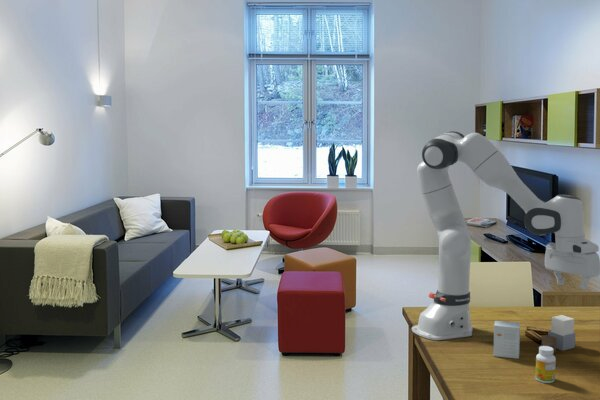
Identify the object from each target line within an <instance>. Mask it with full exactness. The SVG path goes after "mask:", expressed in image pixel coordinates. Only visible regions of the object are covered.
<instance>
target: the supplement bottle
mask: <svg viewBox="0 0 600 400" xmlns="http://www.w3.org/2000/svg"><path fill="white" fill-rule="evenodd" d="M553 353H554V349H553V348H552V347H549V346H541V345H540V346H538V354H536V356H535V372H534V373H535V376H534V377H535V380H536V381H538V382H539V383H544V384H551V383H553V382H555V380H556V363H557V362H556V361H557V359H556V356H555V354H553Z"/></svg>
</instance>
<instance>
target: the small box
mask: <svg viewBox="0 0 600 400" xmlns="http://www.w3.org/2000/svg"><path fill="white" fill-rule="evenodd" d="M520 326H521V324H520V322H519V321H518V322H517V321H505V320H504V321H503V320H494V324H493V357H498V358H506V359H507V358H508V359H518V360H519V359H520V345H521V344H520V342H521V341H520V340H521V339H520V336H521V333H520V332H521V330H520V329H521V327H520Z"/></svg>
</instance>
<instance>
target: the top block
mask: <svg viewBox="0 0 600 400" xmlns="http://www.w3.org/2000/svg"><path fill="white" fill-rule="evenodd" d="M550 321H551V323H550V324H551V325H550V327H551V328H550V331H551V332H554V333H557V334H560V335H563V336H564V335H568V334H573V333H575V330H574V329H575V318H572V317H569V316H566V315H564V314H560V315H556V316H551V320H550Z"/></svg>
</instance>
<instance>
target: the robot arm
mask: <svg viewBox="0 0 600 400" xmlns="http://www.w3.org/2000/svg"><path fill="white" fill-rule="evenodd" d="M421 157H422V161H421V162H420V163H419V164H418V166H417V167H416V176H417V182H418V186H419V189H420V192H421V195H422V198H423V200H424V203H425V206H426V209H427V212H428V214H429V216H430V217H429V218H430V219H431V221H432V222H431V223H432V225H433V227H434V229H435V231H436V232H435V233H436V235H437V237H438V272H437V275H438V276H437V277H438V278H437V290H436V293H433V292H429V293H428V298H429V299H432V300H433V301H432V302H431V303H430V304H429V305H428V307H426V308H425V309H424V310H423V311H422V312H421V313H420V314H419V317H418V323H417V324H416V325H413V326H412V327H411V331H412V333H414V334H416V335H417V336H420V337H421V338H424V339H428V340H430V341H441V340H451V339H459V338H468V337H471V336H473V331H474V329H473V325H472V321H471V311H470V303H471V292H470V273H471V272H470V271H471V269H470V268H471V257H472V256H471V254H472V238H471V236H470V235H471V234H470V231H469V228H468V225H467V222H466V221H465V220H466V219H465V218H464V214H463V212H462V209H461V206H460V204H459V201H458V198H457V195H456V192H455V189H454V187H453V184H452V181H451V178H450V176H449V167H450V166H453V165H455V164H456V163H457V162H461V163H464V164H465V165H466V166H467V167H469V169H470V170H471V171H472V173H474V175H476V177H478V178H479V180H481V181H482V182H483V183H485V184H486V185H488V186H489V187H492V188H495V189H499V190H501V191H503V192H504V193H506V194H507V195H508V196H509V197H510V198H511V199H512V200H514V202H515V203H516V204H517V205H518V206H519V207H520V208H521V209H522V210H523V211H524V213H525V215H524V217H523V224H524V226H525V229H526V230H527V232H529V233H530V234H532V235H534V236H535V235H536V236H546V235H548V234H553V233H554V236H555V237H554V238H555V240H554V241H555V242H552V241H549V242H548V243H547V244H546V245H545V254H544V267H545V269H546V270H549V271H553V275H554V277H555V279H556V284H557V285H560V286H562V285H565V278H563V277H562V273H566V274H570V275H574V276H575V275H576V276H581V280H582V281H581V283H579V284H578V286H579V289H580V290H584V291H585V290H587V289H588V283H589V281H590V280H591V278H596V277H598V276H599V275H600V256H599V254H598V252H599V251H600V249H599V245H598V244H597V243H594V242H591V241H590V240H589V239H587V238H586V234H585V231H584V230H585V229H584V225H585V211H584V206H583V201H582V200H581V199H580V198H579V197H578V196H574V195H570V194H557V195H556V196H555V197H553V198H551V199H550V200H548V201H544V200H542V199H541V198H539V197H538V196H537V194H535V193H534V192H533V191H532V190H531V189H530V188H529V187H528V185H526V184H525V183H524V182H523V180H522V179H521V178H520V177H519V176H518V174H517V172H516V171H515V170H514V168H513V167H512V165H511V164H510V162H509V160H508V159H507V158H506V156H505V155H504V154H503V152H502V151H501V150H499V149H498V147H497V146H496V145H494V144H493V142H491V141H490V140H489V139H487V138H486V137H485V136H484V135H483V134H481V133H479V132H471V133H469V134H466V135H464V134H463V133H461V132H460V131H459V132H458V131H448V132H445V133H441V134H438V135H437V136H436V137H435V138H432V139H431V140H429V141H428V142H426V144H425V145H424V146H423V148H422V151H421Z"/></svg>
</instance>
